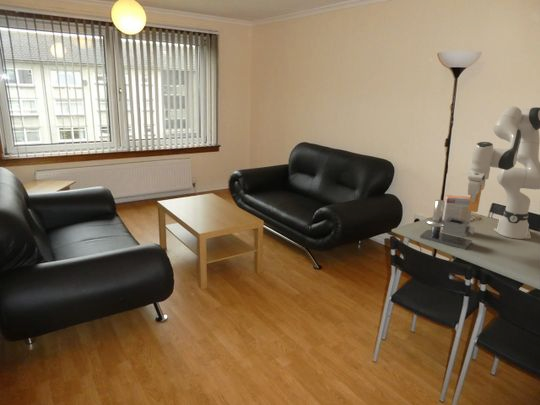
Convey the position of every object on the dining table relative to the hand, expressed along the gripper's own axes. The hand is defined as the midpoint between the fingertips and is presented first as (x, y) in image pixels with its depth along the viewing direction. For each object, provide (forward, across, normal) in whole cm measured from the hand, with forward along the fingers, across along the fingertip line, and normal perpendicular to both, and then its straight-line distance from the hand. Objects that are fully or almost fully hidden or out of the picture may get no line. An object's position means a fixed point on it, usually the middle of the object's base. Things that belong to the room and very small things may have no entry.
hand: (474, 200), depth 204 cm
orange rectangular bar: (+6, 0, 0) cm, 6 cm away
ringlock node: (+25, 0, -11) cm, 28 cm away
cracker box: (+26, -20, -12) cm, 34 cm away
